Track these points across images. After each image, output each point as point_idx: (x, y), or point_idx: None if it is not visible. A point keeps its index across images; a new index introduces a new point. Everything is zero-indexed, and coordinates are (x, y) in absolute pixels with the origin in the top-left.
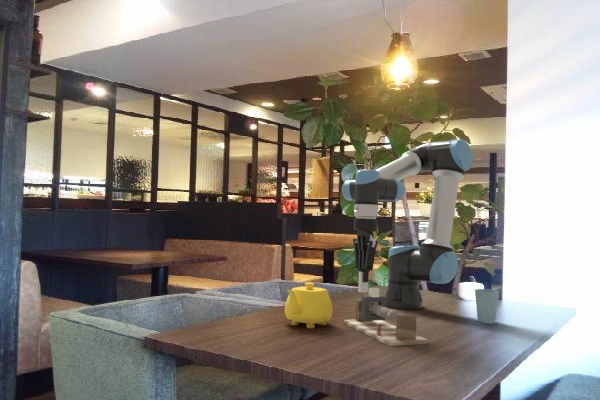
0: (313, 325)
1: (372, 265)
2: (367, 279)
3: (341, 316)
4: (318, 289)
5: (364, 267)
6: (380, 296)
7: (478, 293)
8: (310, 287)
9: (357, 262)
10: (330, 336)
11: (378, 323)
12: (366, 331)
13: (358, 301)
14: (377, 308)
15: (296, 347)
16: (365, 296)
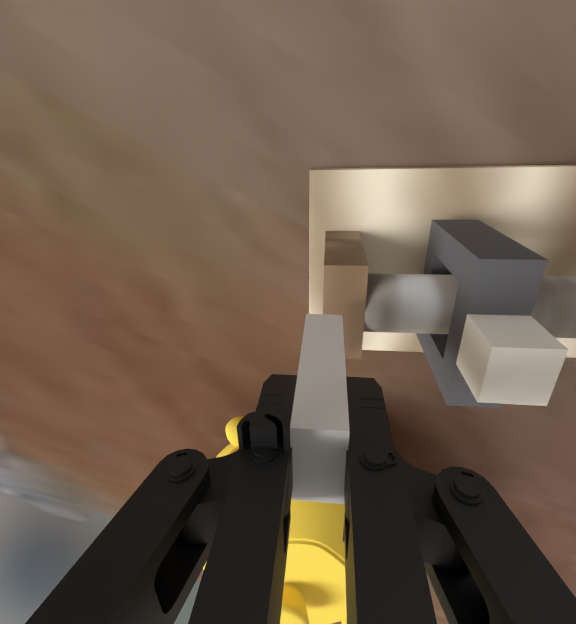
0: None
1: (534, 558)
2: (381, 403)
3: (170, 291)
4: (310, 570)
5: (428, 569)
6: (507, 291)
7: None
8: (305, 605)
9: (185, 589)
10: (493, 461)
11: (424, 231)
12: None
13: (353, 355)
14: (568, 337)
15: (561, 564)
16: (465, 389)
